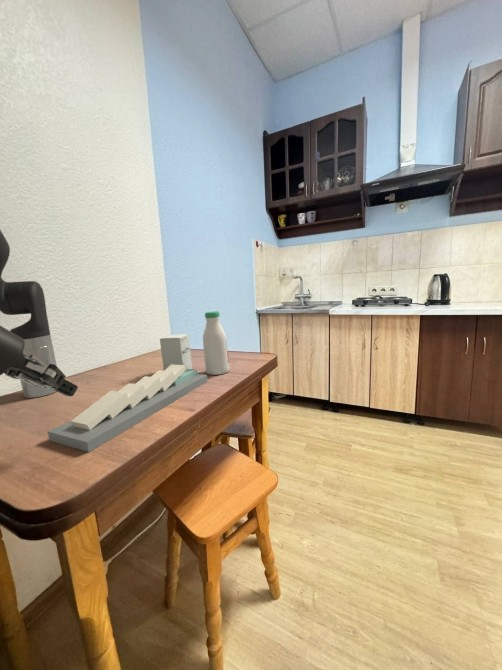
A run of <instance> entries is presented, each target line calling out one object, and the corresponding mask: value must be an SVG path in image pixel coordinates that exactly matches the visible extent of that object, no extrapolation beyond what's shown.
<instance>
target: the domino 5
mask: <svg viewBox="0 0 502 670" xmlns="http://www.w3.org/2000/svg"><path fill="white" fill-rule="evenodd" d="M185 370H186V367H185V365H173V364H171V365H170V366H169V367H168V368H167V369H166V370H165V371H173V373H174V376H173V377H172V378H171V379H170V380H169V381H168V382H167V383H166V384H165V385H164V386H163V387H162V388H161V389H160V390H159V391H165V390H166V389H167V388H168V387H169V386H170V385H171V384H172V383H173V382H174V381H175V380H176V379H177V378H178V377H179V376H180V375H181V374H182V373H183V372H184V371H185Z"/></svg>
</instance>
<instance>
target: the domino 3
mask: <svg viewBox="0 0 502 670" xmlns="http://www.w3.org/2000/svg"><path fill="white" fill-rule="evenodd" d="M160 383H161V381H160V378H158V377H151V376H146V375H145V376H143V377H141V379H139V380H138V381H137V382H136V383H135V384H139V385H144V387H145V391H144V392H143V393H141V394H140V395H139V396H138V397H137V398H136V399H135V400H133V401H132V402H131V403H130V404H129V405H128V406H127V407H128V408H133V407H135V406H136V405H137V404H138V403H139V402H140V401H141V400H142V399H143V398H144V397H145V396H147V395H148V394H149V393H150V392H151V391H152V390H153V389H154V388H155V387H156V386H157V385H159V384H160Z"/></svg>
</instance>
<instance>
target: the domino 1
mask: <svg viewBox="0 0 502 670" xmlns="http://www.w3.org/2000/svg"><path fill="white" fill-rule="evenodd" d="M118 391H119V390H118ZM118 391H117V390H109V391H108V392H107V393H106V394H104V395H103V396H101V397H100V398H99V399H98V400H96V401H95V402H94V403H93V404H91V405H89V407H87V408H86V409H85V410H84V411H82V412H81V413H80V414H78V415H77V416H76V417H74V418H72V421H71V420H70V421H71V422H72V424H73V426H74V427H78V428H83V429H87V430H91V429H92V428H94V427H95V426H96V425H97V424H98V423H99V422H101V421H102V420H103V419H104V418H105V417H106V416H108V415H109V414H110V413H111V412H112V411H114V410H115V409H116V408H117V407H118V406H119V405H121V404H122V403H123V402H124V401H125V400H127V399H128V395H127V393H125V392H118Z"/></svg>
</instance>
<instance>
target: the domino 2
mask: <svg viewBox="0 0 502 670" xmlns="http://www.w3.org/2000/svg"><path fill="white" fill-rule="evenodd" d="M144 391H145V387H144V385H139V384H136V383H127V384H125V385H124V386H123V387H122V388H121V389H119V390H118V392H125V393H127V395H128V399H127V400H125V401H124V402H123V403H122V404H121V405H119V406H118V407H117V408H116V409H115V410H114V411H112V412H111V413H110V414H109V415H108V416H106V417H105V418H110V419H113V418H114V417H115V416H116V415H117V414H119V413H120V412H121V411H122V410H123V409H124V408H125V407H127V406H128V405H129V404H130V403H131V402H132V401H133V400H135V399H136V398H137V397H138V396H139V395H140V394H141V393H143V392H144Z"/></svg>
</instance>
